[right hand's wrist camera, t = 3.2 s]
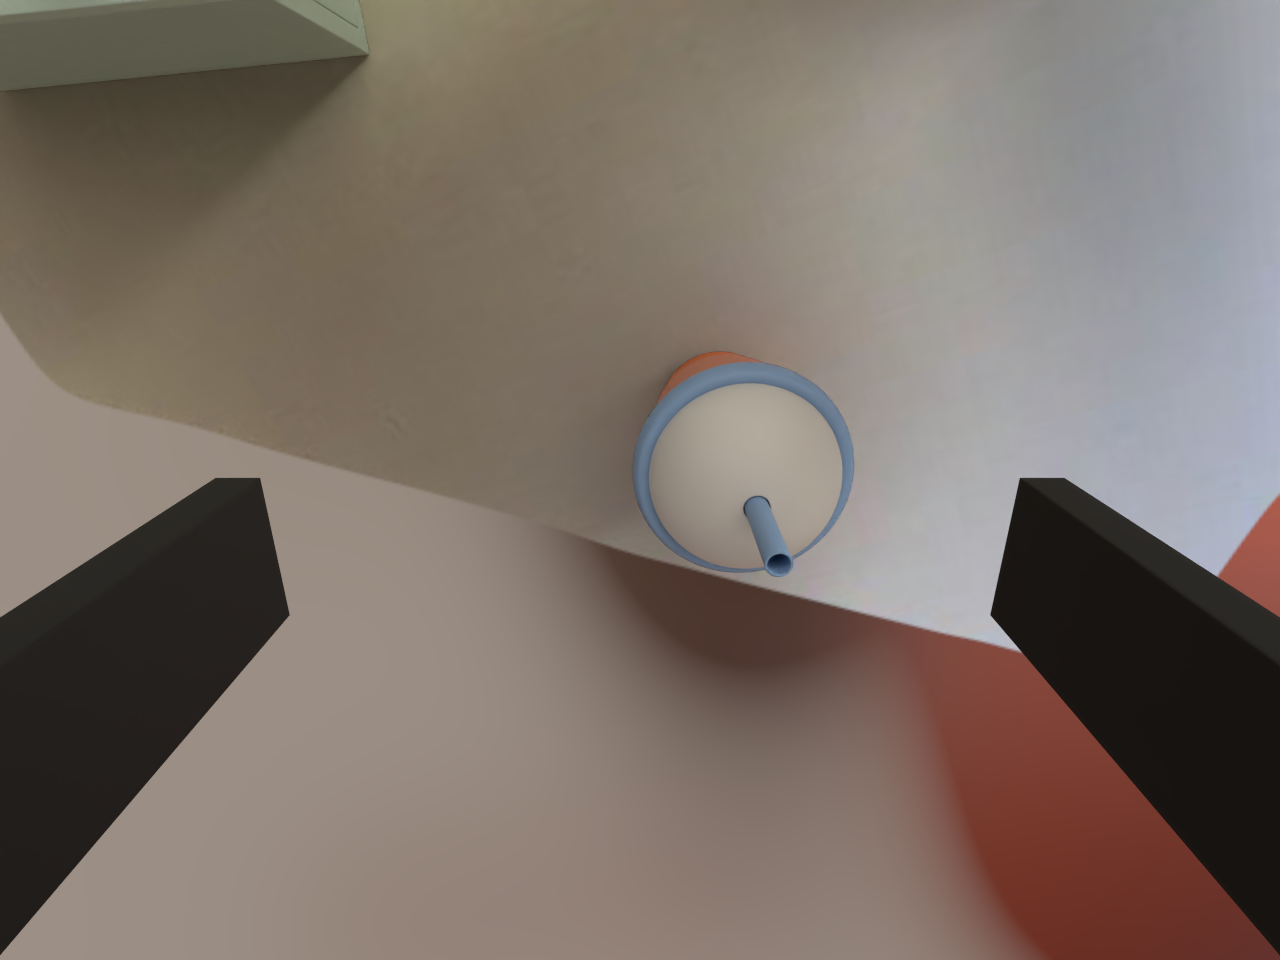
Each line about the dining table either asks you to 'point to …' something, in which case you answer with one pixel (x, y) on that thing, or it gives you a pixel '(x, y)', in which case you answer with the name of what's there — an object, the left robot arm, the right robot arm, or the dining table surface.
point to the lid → (77, 7)
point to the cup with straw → (742, 464)
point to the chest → (177, 40)
